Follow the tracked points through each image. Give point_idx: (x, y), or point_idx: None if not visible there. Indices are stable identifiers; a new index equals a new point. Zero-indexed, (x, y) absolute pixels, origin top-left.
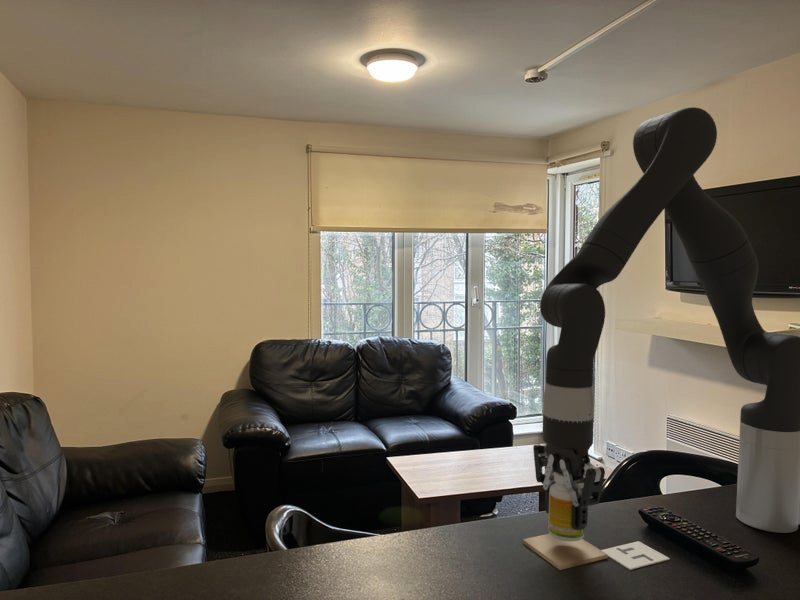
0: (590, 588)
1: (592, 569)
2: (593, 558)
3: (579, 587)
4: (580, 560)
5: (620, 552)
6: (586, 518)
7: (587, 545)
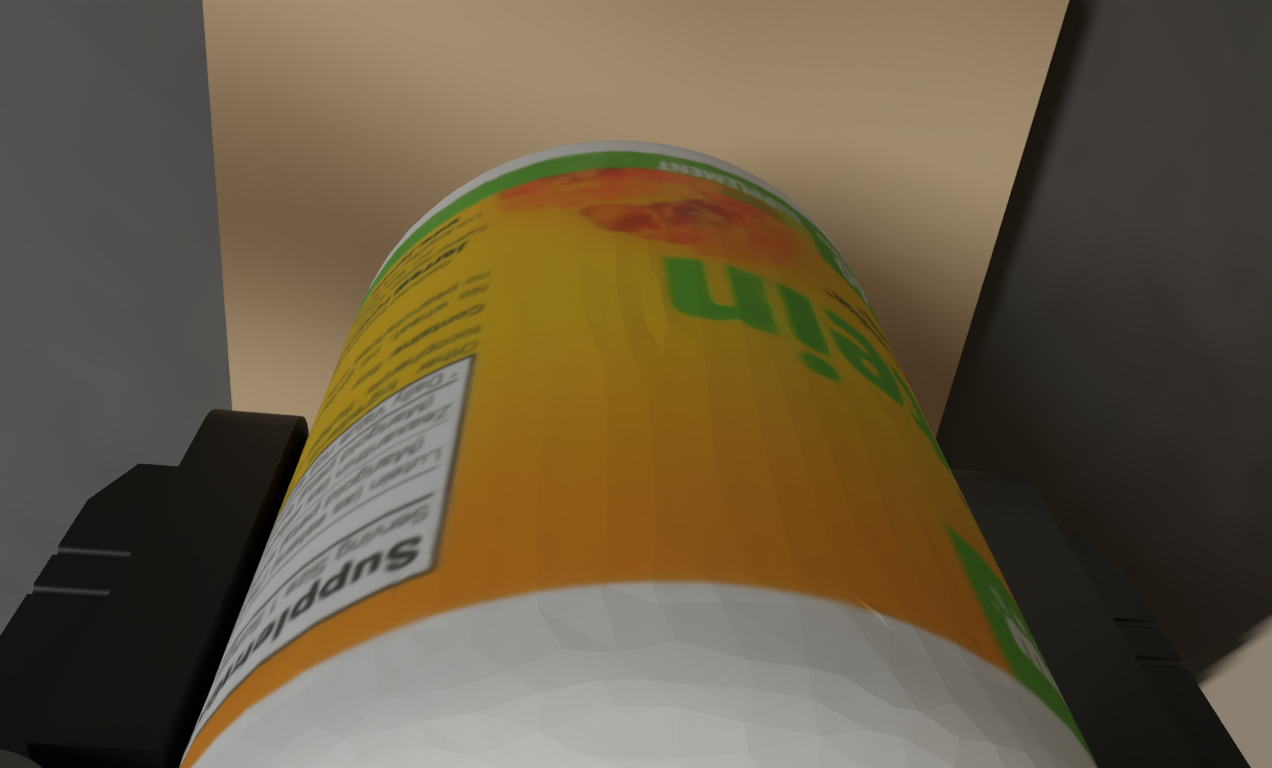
0: (1232, 578)
1: (1071, 330)
2: (1002, 216)
3: None
4: (944, 394)
5: None
6: (1164, 664)
7: (746, 16)
